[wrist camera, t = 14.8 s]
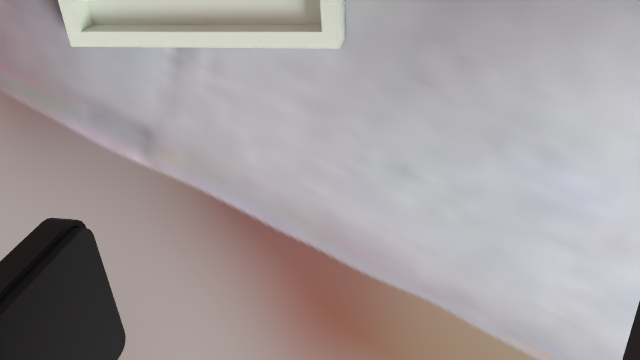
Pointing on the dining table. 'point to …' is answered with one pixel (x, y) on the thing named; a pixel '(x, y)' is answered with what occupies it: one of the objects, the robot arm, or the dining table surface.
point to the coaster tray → (205, 23)
